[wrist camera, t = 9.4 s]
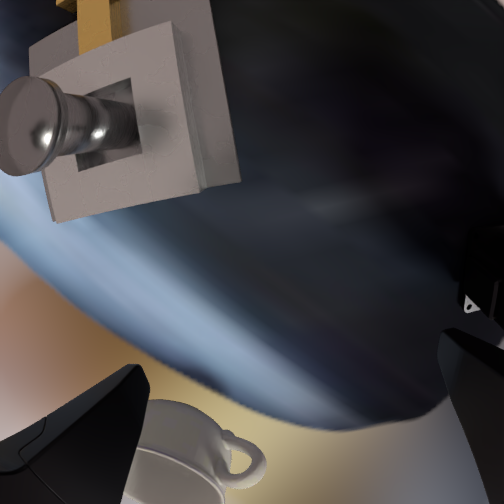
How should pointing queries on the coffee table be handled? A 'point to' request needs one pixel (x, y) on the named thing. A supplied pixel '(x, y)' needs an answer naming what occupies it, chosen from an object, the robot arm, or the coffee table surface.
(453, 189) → the coffee table surface
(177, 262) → the coffee table surface
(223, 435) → the teacup
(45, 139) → the pin
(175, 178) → the knob backplate
